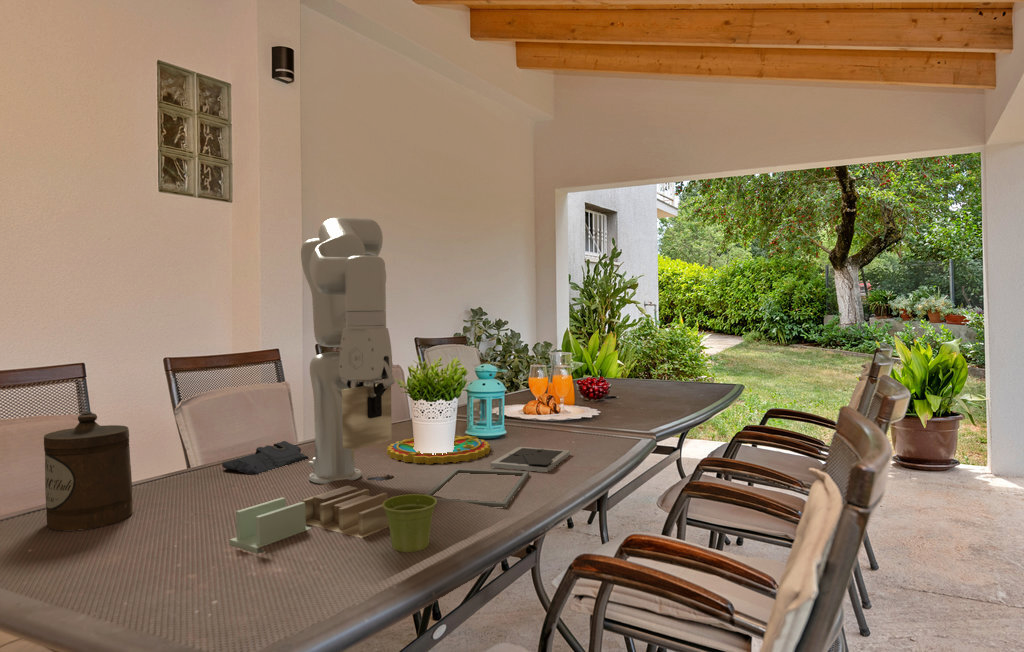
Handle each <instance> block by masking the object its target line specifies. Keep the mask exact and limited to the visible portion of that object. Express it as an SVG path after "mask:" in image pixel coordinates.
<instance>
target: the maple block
mask: <svg viewBox="0 0 1024 652" xmlns="http://www.w3.org/2000/svg"><path fill="white" fill-rule="evenodd" d="M375 386H377V384H375ZM368 397H370V392H369V385H367V386H361V387H354V388H347V389H342V418H343V448H347V449H354V451H355V450H357V449H358V450H359V449H362V448H366V447H369V446H374V445H377V444H378V445H379V444H381V443H386V442H390V441H392V440H393V437H392V435H393V431H392V429H393V427H392V385H391V386H389V387H388V388H387V389H386V390H385V392H384V395H383V396H382V415H381V416H380V417H375V418H368Z"/></svg>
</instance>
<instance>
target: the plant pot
mask: <svg viewBox="0 0 1024 652" xmlns="http://www.w3.org/2000/svg"><path fill="white" fill-rule="evenodd" d="M436 498H437V497H435V496H430V495H425V494H420V493H419V494H418V493H412V494H411V493H410V494H402V495H395V496H392V497H389V498H387V500H385V501H384V502H383V504H382V506H383V508H384V509H385V512H386V515H387V517H388V523H389V527H388V528H389V535H390V540H391V547H392V549H393V550H395V551H397V552H403V553H414V552H417V551H421V550H424V549H426V548H427V547H428V546H429V543H430V533H431V528H432V519H433V513H434V512H435V506H436V505H437V503H438V500H436Z"/></svg>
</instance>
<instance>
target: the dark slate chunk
mask: <svg viewBox="0 0 1024 652" xmlns="http://www.w3.org/2000/svg"><path fill="white" fill-rule="evenodd" d="M301 450H302V449H301V447H299V446H298V445H296V444H292V443H290V442H289V441H286V440H283V441H280V442H277V443H273V445H269V444H268V445H265V446H263V447H262V446H258V447H256V449H255V453H254V454H253V453H252V454H249V455H245V456H242V457H239V458H234V459H231V460H227V461H224V462H223V463H222V465H221V466H222V468H224V469H226V470H230V469H231V470H230V471H238V472H239V473H242V472H243V474H247V475H256V474H257V475H260V474H259V473H261V474H263V473H262V472H265V471H267V472H269V471H268V470H271V471H273V470H272V469H275V468H278V469H280V468H279V467H282V466H285V465H288V466H290V465H289V464H291V465H293V464H292V463H295V462H298V463H300V462H299V461H301V462H303V461H302V460H304V461H306V460H305V459H308V458H309V457H308V455H305V454H304V453H301ZM308 460H309V459H308ZM295 464H296V463H295ZM285 467H286V466H285ZM282 468H283V467H282ZM275 470H276V469H275ZM265 473H266V472H265Z"/></svg>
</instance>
